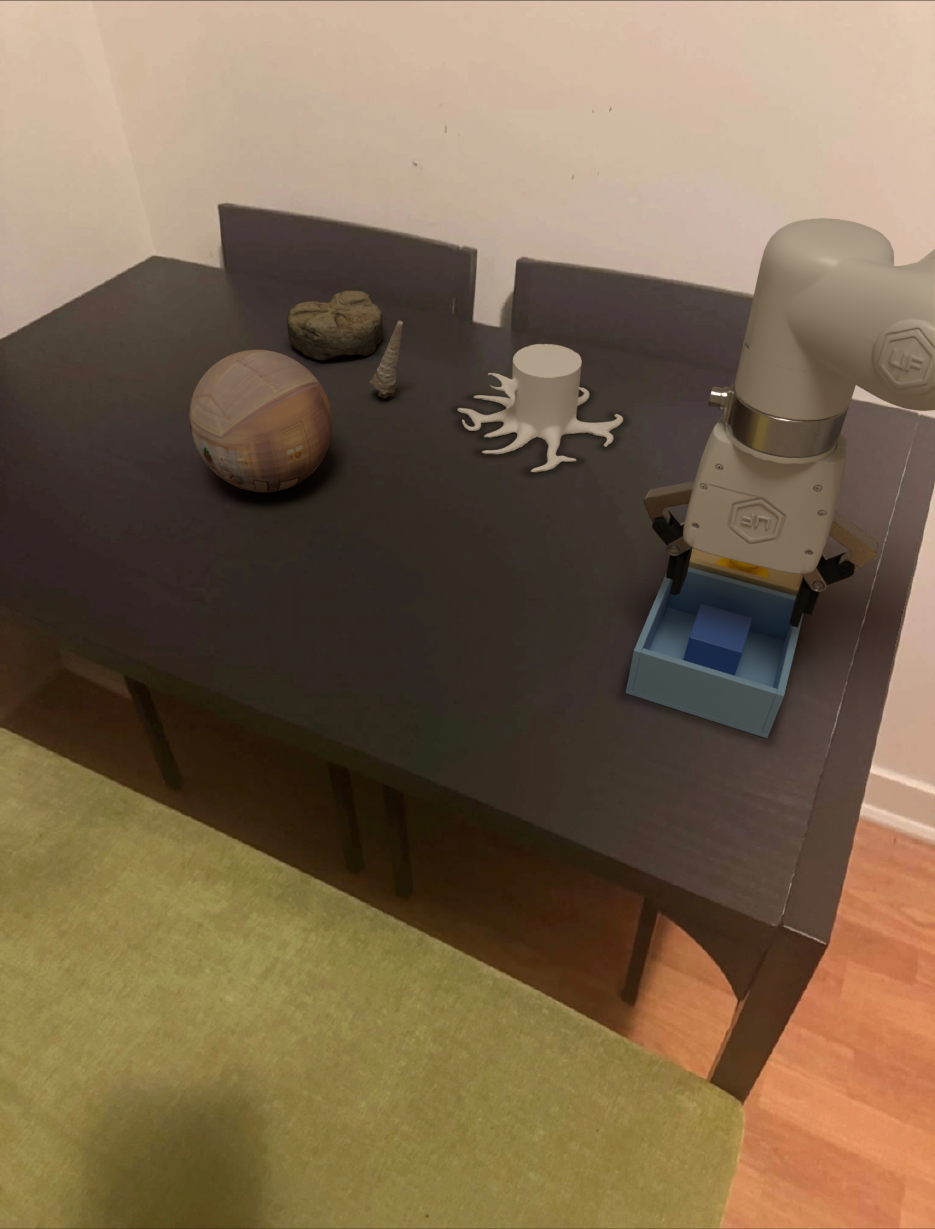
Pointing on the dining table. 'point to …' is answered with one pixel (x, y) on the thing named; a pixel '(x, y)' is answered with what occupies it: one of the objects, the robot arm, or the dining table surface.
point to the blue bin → (705, 690)
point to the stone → (336, 326)
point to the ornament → (260, 420)
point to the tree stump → (541, 402)
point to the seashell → (388, 365)
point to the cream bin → (747, 574)
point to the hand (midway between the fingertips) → (735, 600)
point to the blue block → (717, 639)
